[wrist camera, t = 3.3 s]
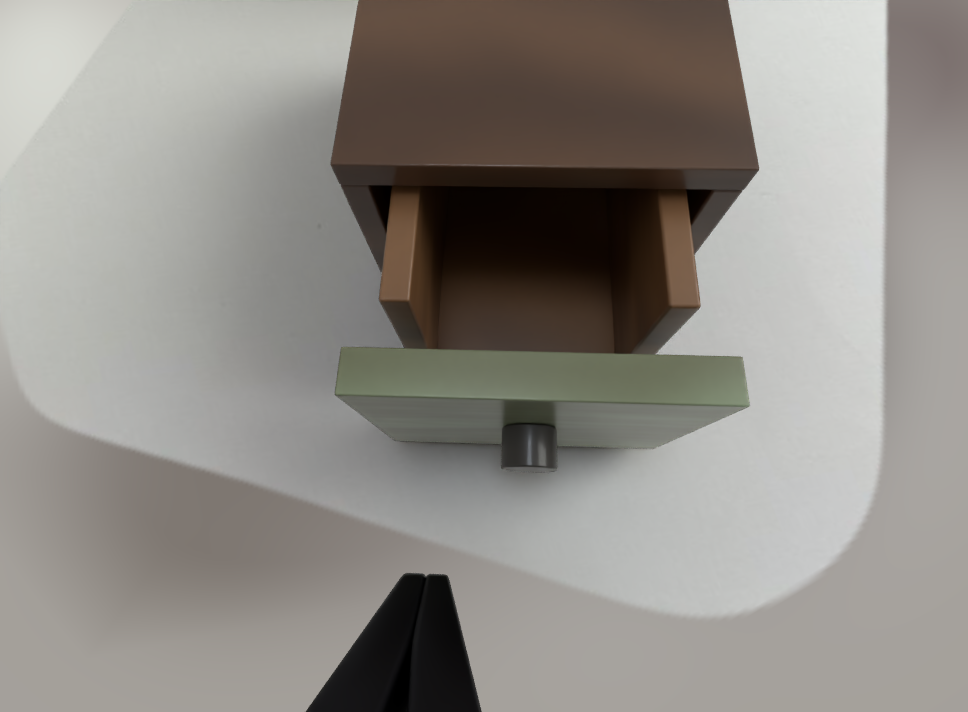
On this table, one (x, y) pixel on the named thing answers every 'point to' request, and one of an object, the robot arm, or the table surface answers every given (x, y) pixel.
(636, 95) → the cabinet
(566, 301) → the drawer
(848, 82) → the table surface
